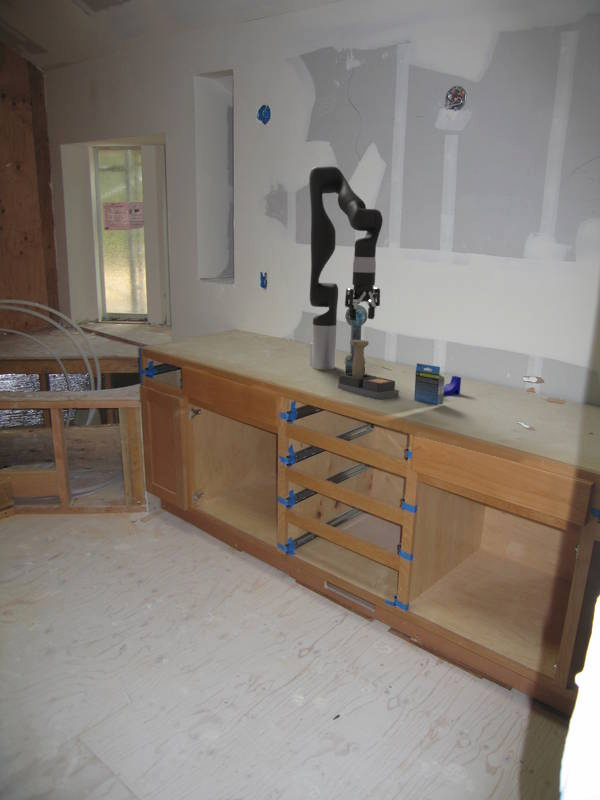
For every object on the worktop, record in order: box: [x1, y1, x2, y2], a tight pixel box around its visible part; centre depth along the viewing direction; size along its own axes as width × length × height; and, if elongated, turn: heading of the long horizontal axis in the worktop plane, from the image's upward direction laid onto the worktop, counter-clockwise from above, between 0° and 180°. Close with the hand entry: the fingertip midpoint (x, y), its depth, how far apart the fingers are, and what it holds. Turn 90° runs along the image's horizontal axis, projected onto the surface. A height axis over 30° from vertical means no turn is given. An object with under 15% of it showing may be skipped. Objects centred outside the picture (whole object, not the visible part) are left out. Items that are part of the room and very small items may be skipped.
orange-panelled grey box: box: [337, 372, 400, 400], centre depth 217 cm, size 20×9×5 cm, turn 40°
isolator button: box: [368, 379, 389, 383], centre depth 213 cm, size 6×6×2 cm
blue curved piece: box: [444, 375, 462, 396], centre depth 217 cm, size 12×4×6 cm, turn 114°
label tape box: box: [413, 362, 445, 405], centre depth 205 cm, size 9×4×12 cm, turn 48°
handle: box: [349, 339, 370, 378], centre depth 219 cm, size 5×6×15 cm
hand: (362, 319), depth 217 cm, fingers open, 8 cm apart
